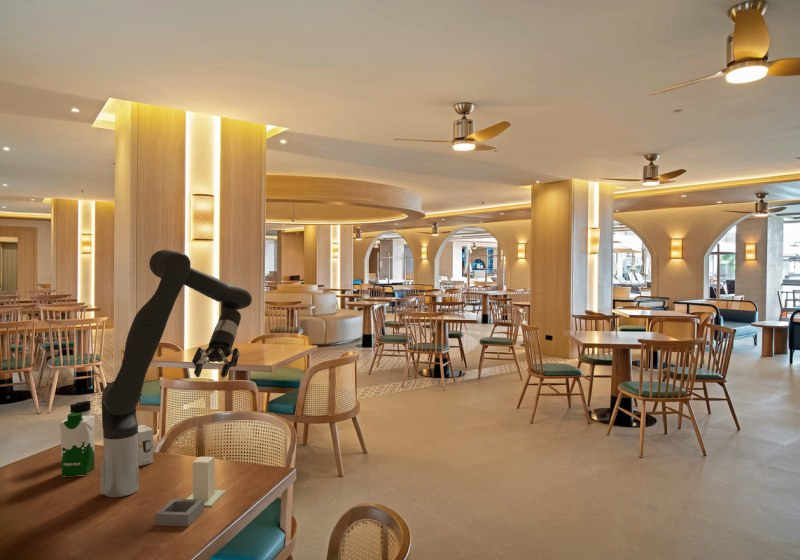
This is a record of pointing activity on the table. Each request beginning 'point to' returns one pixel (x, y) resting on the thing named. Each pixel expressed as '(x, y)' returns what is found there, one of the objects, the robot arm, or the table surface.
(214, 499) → the mat
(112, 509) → the table surface
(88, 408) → the travel mug
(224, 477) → the table surface
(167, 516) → the grey square frame
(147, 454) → the ink box
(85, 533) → the table surface
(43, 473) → the table surface
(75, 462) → the milk carton
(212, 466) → the cream carton
